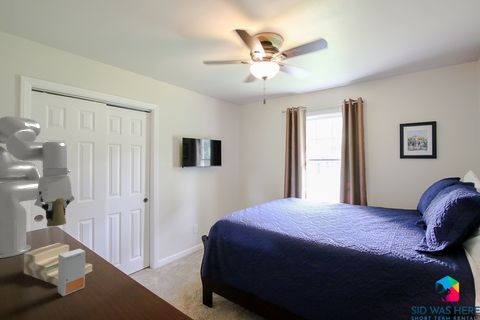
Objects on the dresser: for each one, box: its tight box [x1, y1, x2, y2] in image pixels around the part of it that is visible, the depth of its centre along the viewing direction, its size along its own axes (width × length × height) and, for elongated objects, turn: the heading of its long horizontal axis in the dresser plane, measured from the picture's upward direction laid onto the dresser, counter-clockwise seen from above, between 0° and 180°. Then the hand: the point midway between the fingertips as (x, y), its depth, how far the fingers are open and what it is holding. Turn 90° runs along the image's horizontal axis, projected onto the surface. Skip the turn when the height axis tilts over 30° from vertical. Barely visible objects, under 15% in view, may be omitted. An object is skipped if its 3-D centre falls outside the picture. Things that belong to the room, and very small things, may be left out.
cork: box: [46, 198, 67, 227], centre depth 89 cm, size 6×6×11 cm
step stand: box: [23, 242, 93, 287], centre depth 83 cm, size 21×11×8 cm, turn 67°
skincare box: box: [57, 248, 86, 297], centre depth 71 cm, size 6×4×12 cm
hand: (55, 218), depth 89 cm, fingers closed on cork, 3 cm apart
